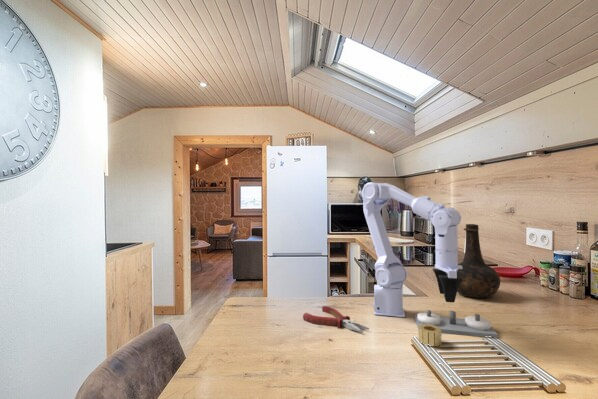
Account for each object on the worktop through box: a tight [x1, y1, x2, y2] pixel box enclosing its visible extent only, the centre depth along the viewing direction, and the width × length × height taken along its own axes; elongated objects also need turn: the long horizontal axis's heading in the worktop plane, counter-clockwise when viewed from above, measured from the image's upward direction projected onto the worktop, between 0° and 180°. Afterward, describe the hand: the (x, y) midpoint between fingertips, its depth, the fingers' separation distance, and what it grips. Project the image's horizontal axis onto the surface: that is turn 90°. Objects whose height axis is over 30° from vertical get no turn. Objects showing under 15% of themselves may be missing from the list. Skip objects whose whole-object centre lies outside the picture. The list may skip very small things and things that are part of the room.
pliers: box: [302, 305, 370, 333], centre depth 92 cm, size 12×20×3 cm, turn 45°
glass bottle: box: [457, 223, 501, 299], centre depth 120 cm, size 18×18×28 cm
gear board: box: [414, 309, 499, 339], centre depth 89 cm, size 20×10×4 cm, turn 75°
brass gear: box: [417, 324, 443, 347], centre depth 79 cm, size 5×5×4 cm
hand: (446, 297), depth 86 cm, fingers open, 7 cm apart
